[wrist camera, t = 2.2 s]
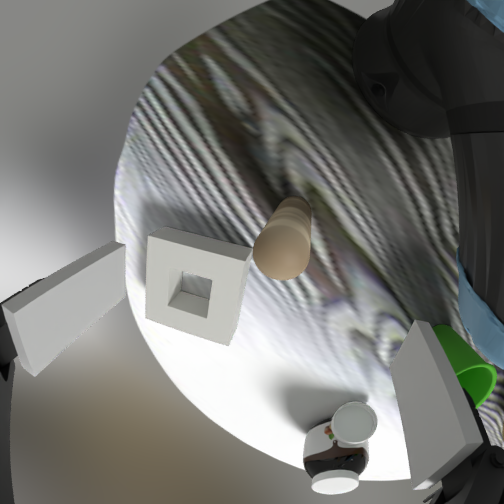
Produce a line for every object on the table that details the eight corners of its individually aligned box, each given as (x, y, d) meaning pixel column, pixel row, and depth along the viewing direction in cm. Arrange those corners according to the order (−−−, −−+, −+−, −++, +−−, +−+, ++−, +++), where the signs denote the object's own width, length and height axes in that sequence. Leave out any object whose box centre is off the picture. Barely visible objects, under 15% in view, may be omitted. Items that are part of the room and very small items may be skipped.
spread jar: (313, 444, 42) (307, 497, 32) (295, 407, 40) (286, 469, 29) (379, 431, 39) (384, 486, 28) (372, 392, 36) (380, 455, 25)
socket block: (164, 226, 34) (147, 235, 30) (253, 248, 33) (245, 261, 29) (159, 303, 38) (145, 318, 34) (236, 327, 36) (228, 346, 33)
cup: (473, 310, 29) (509, 360, 19) (451, 364, 32) (475, 417, 22) (417, 309, 31) (446, 367, 21) (398, 366, 34) (414, 426, 24)
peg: (281, 192, 30) (258, 219, 18) (315, 200, 29) (316, 234, 17) (274, 224, 31) (248, 272, 19) (306, 233, 31) (301, 286, 19)
